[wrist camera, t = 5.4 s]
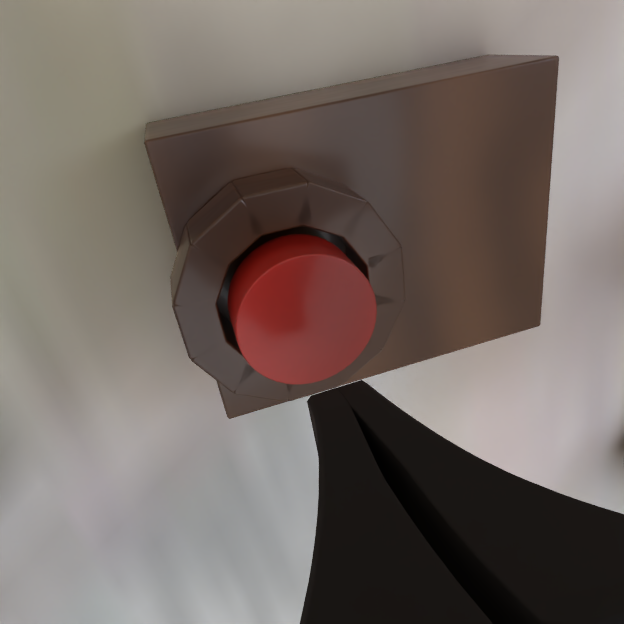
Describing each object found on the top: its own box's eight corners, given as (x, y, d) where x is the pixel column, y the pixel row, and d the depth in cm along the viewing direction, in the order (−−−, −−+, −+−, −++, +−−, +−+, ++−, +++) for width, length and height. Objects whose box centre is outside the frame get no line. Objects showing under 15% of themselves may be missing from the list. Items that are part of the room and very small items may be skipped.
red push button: (243, 369, 16) (252, 401, 15) (212, 252, 14) (219, 276, 13) (362, 335, 17) (383, 363, 15) (348, 219, 15) (369, 237, 14)
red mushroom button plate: (206, 366, 22) (222, 461, 17) (131, 125, 17) (123, 157, 12) (486, 287, 24) (575, 350, 19) (488, 54, 20) (608, 55, 15)
